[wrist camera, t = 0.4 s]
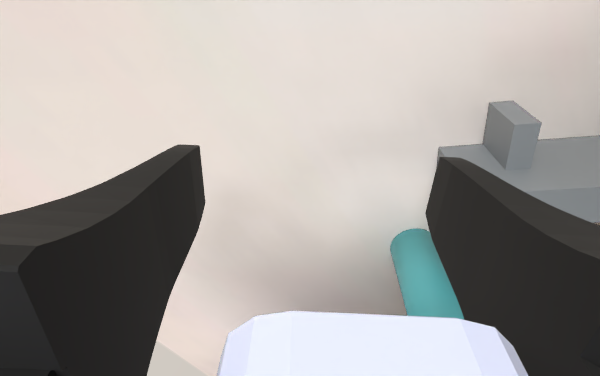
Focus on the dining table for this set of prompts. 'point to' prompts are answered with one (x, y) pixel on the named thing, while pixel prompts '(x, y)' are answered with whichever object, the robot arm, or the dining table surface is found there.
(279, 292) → the dining table surface
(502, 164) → the backstop wall
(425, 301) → the dowel
